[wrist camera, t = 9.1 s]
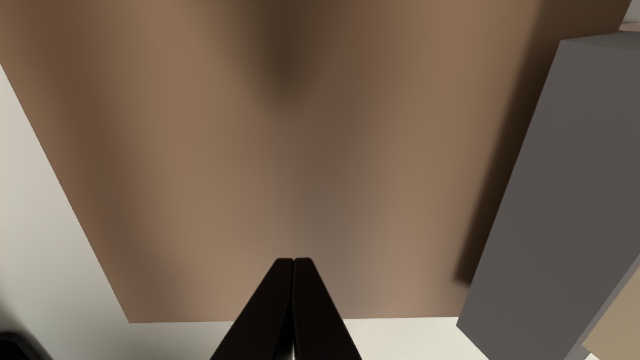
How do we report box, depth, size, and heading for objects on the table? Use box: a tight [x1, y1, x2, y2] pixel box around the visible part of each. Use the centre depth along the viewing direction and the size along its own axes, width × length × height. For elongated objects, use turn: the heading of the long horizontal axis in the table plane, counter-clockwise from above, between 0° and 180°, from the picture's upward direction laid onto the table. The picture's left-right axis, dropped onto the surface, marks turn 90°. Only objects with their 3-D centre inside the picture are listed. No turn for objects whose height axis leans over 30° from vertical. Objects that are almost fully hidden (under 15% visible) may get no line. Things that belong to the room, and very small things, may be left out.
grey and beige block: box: [456, 31, 640, 360], centre depth 8 cm, size 3×10×5 cm, turn 179°
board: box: [0, 0, 632, 323], centre depth 12 cm, size 15×12×3 cm
